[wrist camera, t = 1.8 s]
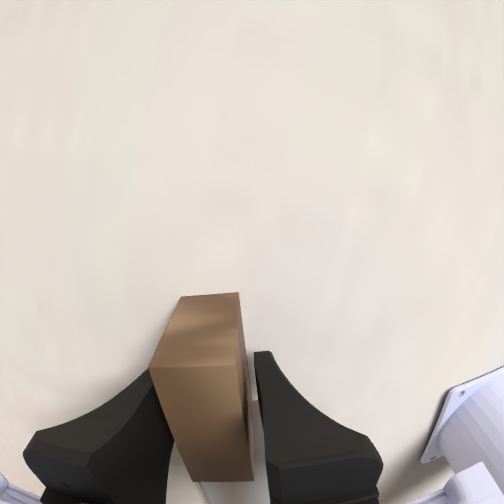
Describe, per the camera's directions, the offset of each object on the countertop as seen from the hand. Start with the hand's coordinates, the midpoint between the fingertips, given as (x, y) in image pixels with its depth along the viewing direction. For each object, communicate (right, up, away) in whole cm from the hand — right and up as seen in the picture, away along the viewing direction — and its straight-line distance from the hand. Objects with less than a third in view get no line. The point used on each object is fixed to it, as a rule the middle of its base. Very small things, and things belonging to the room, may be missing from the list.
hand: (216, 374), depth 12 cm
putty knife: (+1, -7, +3) cm, 8 cm away
